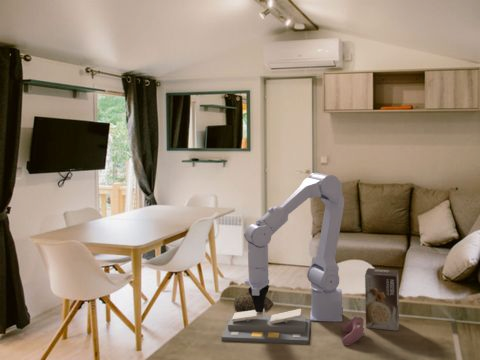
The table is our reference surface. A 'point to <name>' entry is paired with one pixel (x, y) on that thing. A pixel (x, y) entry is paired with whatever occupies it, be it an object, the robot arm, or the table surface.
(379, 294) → the coffee box
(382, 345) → the table surface
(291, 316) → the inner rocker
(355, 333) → the pink curved piece
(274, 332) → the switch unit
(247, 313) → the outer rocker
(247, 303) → the bread roll
